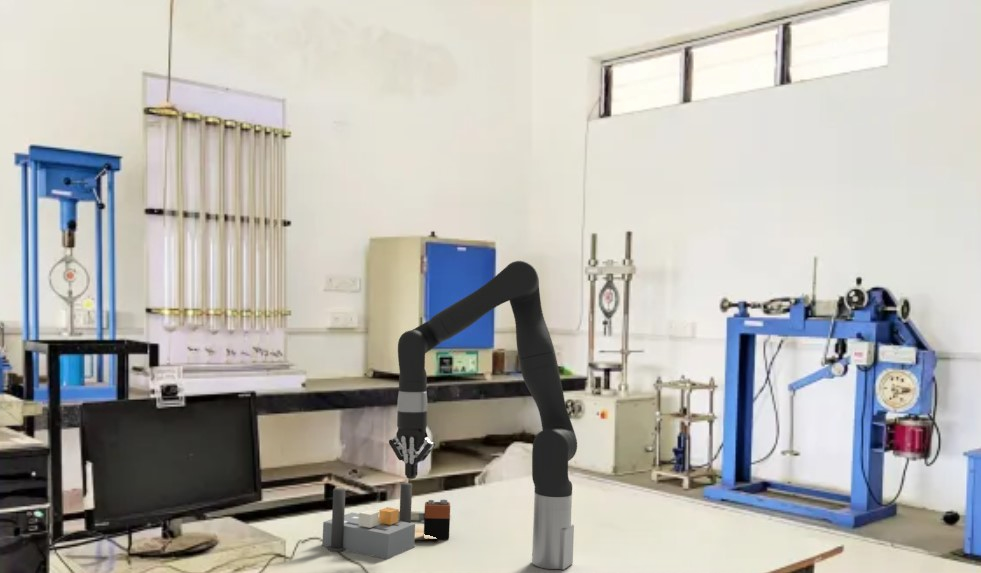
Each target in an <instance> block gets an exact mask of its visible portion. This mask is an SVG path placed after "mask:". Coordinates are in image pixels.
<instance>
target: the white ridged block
mask: <svg viewBox="0 0 981 573" xmlns="http://www.w3.org/2000/svg"><path fill="white" fill-rule="evenodd" d="M358 514H359V526H363V527H369V528H371V527H374V526H376V525H378V521H379V511H377V510H376V511H375V510H369V509H366V510H364V511H363V510H362V511H361V512H359V513H358Z"/></svg>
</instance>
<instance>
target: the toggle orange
mask: <svg viewBox="0 0 981 573" xmlns="http://www.w3.org/2000/svg"><path fill="white" fill-rule="evenodd" d="M378 512H379V523H383V524H389V525H391V524H394V523H397V522H398V521H399V513H400V508H399V509H398V508H392V507H384V508H382V509H379V511H378Z"/></svg>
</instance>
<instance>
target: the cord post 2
mask: <svg viewBox="0 0 981 573" xmlns="http://www.w3.org/2000/svg"><path fill="white" fill-rule="evenodd" d="M399 494H400V496H399V516H398V521H402V522H408V523H412V503H413V502H412V501H413V500H412V498H413V483H411V482H402V483H400V493H399Z"/></svg>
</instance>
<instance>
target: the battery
mask: <svg viewBox="0 0 981 573" xmlns="http://www.w3.org/2000/svg"><path fill="white" fill-rule="evenodd" d="M423 515H424V516H423V517H424V519H423V520H424V521H423V535H424V534H425V535H430V536H433V537H436V538H437V539H438V541H439V540H440V541H441V540H443V541H445V540H446V541H447V540H449V539H450V529H451V528H450V523H451V502H449V501H448V500H447V499H440V500H439V501H435V500H434V499H428V500H427V501H425V503H424V514H423Z"/></svg>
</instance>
